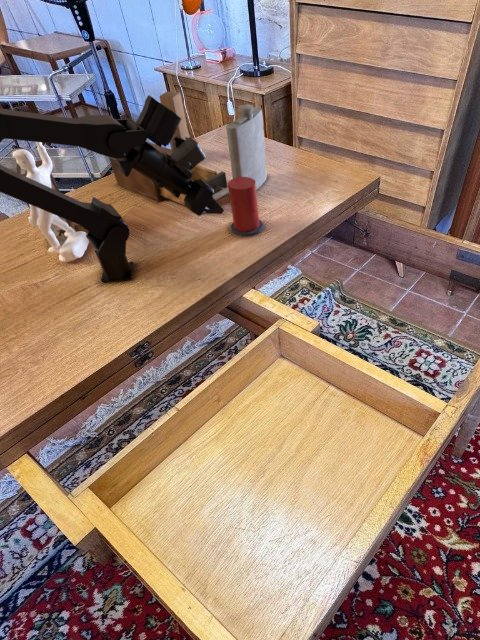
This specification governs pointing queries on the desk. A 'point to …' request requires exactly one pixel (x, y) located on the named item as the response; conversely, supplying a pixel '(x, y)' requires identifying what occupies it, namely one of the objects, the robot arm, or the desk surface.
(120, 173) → the cabinet
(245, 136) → the hip flask
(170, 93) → the wooden block
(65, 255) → the figurine
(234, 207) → the can
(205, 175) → the drawer
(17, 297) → the desk surface
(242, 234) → the mat
